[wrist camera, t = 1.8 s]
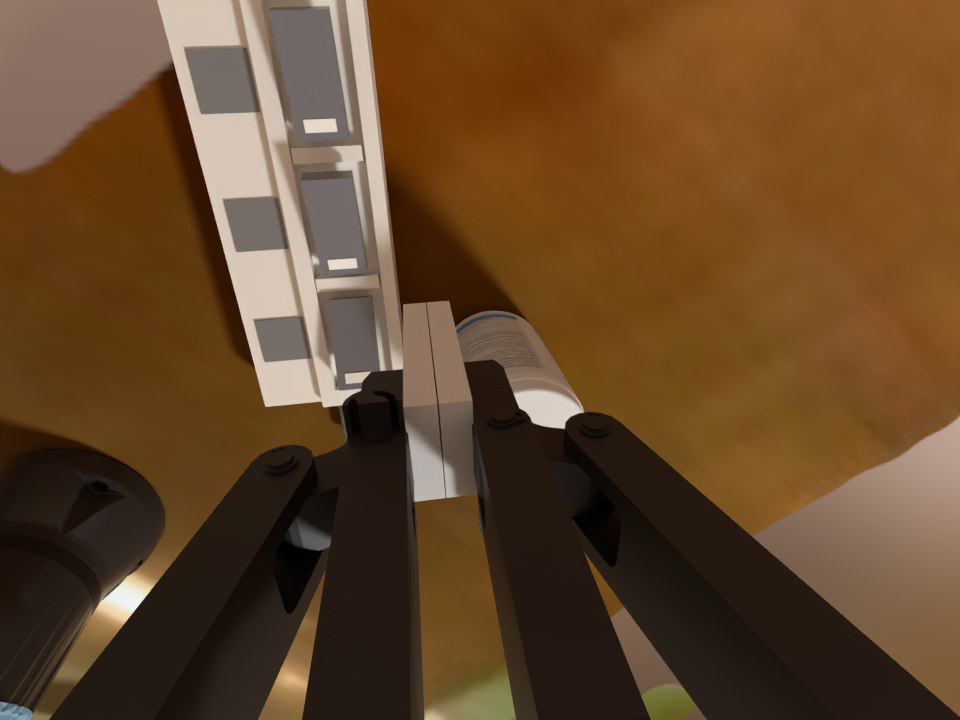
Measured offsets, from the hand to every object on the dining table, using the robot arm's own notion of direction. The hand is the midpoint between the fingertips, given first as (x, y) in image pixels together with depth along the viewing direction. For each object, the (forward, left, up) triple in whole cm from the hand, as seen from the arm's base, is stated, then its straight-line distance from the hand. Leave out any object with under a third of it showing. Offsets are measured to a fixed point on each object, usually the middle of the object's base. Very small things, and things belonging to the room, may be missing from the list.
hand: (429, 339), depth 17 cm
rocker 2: (-5, 0, -21) cm, 21 cm away
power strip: (-8, -3, -26) cm, 28 cm away
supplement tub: (+6, -14, -27) cm, 31 cm away
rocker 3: (-5, -9, -21) cm, 23 cm away
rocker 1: (-5, +9, -21) cm, 23 cm away
